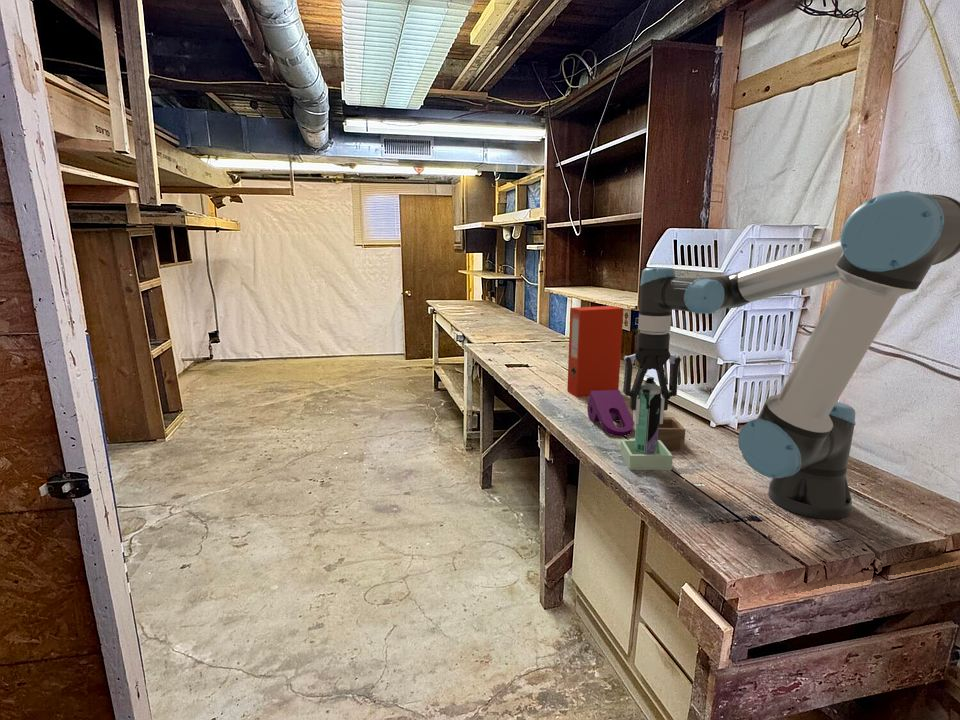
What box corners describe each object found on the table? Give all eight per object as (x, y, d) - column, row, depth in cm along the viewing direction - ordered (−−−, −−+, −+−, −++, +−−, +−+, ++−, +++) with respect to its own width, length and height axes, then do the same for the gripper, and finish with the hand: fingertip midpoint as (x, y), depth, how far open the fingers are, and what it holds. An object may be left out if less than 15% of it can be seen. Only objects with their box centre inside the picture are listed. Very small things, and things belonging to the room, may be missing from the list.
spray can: (657, 457, 129) (663, 380, 125) (635, 456, 130) (640, 379, 126) (655, 449, 134) (660, 375, 130) (633, 447, 135) (637, 374, 131)
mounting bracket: (632, 450, 155) (613, 408, 169) (638, 431, 149) (619, 389, 163) (601, 452, 154) (585, 410, 168) (607, 432, 148) (590, 390, 162)
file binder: (618, 393, 192) (623, 308, 185) (577, 397, 187) (580, 310, 180) (607, 387, 200) (611, 305, 193) (567, 391, 195) (569, 307, 188)
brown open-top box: (683, 450, 139) (685, 429, 138) (650, 449, 140) (651, 429, 138) (669, 434, 151) (671, 414, 150) (638, 433, 152) (640, 414, 150)
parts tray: (671, 470, 127) (672, 455, 127) (629, 469, 128) (630, 455, 127) (659, 453, 138) (660, 440, 137) (619, 453, 138) (620, 439, 137)
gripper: (686, 329, 128) (679, 417, 134) (612, 329, 129) (608, 417, 134) (697, 334, 121) (689, 427, 126) (619, 334, 122) (614, 427, 127)
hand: (647, 421), depth 130 cm, fingers closed on spray can, 5 cm apart
